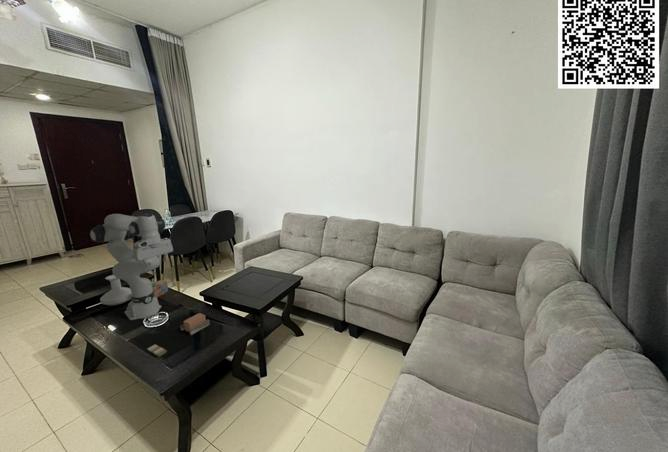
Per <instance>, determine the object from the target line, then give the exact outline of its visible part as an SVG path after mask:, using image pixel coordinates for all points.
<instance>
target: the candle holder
mask: <svg viewBox="0 0 668 452" xmlns="http://www.w3.org/2000/svg"><path fill="white" fill-rule="evenodd" d="M104 279H105V280H107V281H109V283H110V287H111V289H110V290H108V292H106V293H104V294H103V295H101V297H100V298H99V300H100V303H101V304H102V305H107V306H116V305H121V304H124V303H126V302H129V301H131V300H132V299H131V298H132V297H131V296H132V292H131V289H130V287H125V286H122V283H121V279H118V278H116V277H115V276H114V275H113V274H112V275H108V276H106V277H105V278H104Z"/></svg>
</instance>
